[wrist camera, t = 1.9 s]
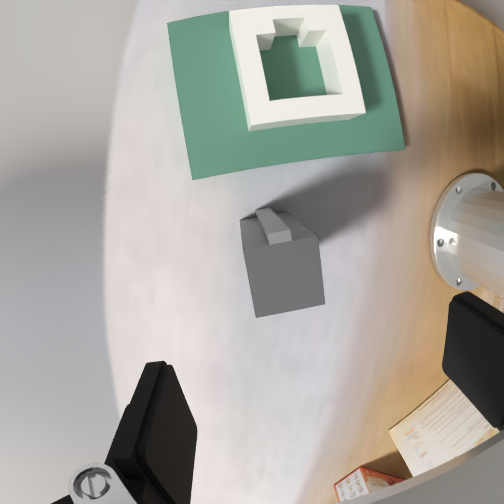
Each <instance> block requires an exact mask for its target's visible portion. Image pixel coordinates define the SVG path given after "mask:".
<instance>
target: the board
mask: <svg viewBox="0 0 504 504" xmlns="http://www.w3.org/2000/svg"><path fill="white" fill-rule="evenodd" d="M286 6H288V5H286ZM338 6H339V9H340V12H341V15H342V18H343V22H344V25H345V28H346V32H347V35H348V39H349V43H350V46H351V50H352V54H353V58H354V62H355V66H356V70H357V74H358V78H359V82H360V87H361V91H362V96H363V101H364V106H365V111H366V113H365V114H362V115H360V116H357V117H355V118H352V119H350V120H340V121H328V122H318V123H309V124H300V125H292V126H284V127H277V128H270V129H263V130H257V131H250V132H249V130H248V125H247V119H246V114H245V108H244V103H243V98H242V92H241V87H240V82H239V76H238V71H237V66H236V61H235V56H234V51H233V45H232V40H231V35H230V30H229V11H226V12H219V13H213V14H208V15H202V16H197V17H192V18H187V19H183V20H178V21H174V22H170V23H167V25H168V33H169V40H170V47H171V54H172V61H173V68H174V75H175V81H176V88H177V94H178V100H179V107H180V113H181V119H182V125H183V130H184V136H185V142H186V147H187V153H188V158H189V164H190V169H191V175H192V180H195V179H200V178H205V177H210V176H215V175H220V174H226V173H231V172H236V171H242V170H248V169H253V168H259V167H265V166H272V165H278V164H284V163H291V162H298V161H305V160H312V159H320V158H328V157H336V156H345V155H354V154H363V153H373V152H384V151H396V150H405V145H404V139H403V133H402V127H401V121H400V115H399V110H398V105H397V100H396V96H395V91H394V86H393V82H392V78H391V74H390V70H389V66H388V62H387V58H386V54H385V51H384V47H383V44H382V40H381V37H380V33H379V30H378V27H377V24H376V21H375V18H374V15H373V12H372V9H371V7H363V6H347V5H338ZM270 7H271V6H270ZM258 8H259V7H258ZM249 9H250V8H249ZM240 10H241V9H240ZM260 56H261V61H262V66H263V71H264V75H265V80H266V85H267V90H268V95H269V101H273V100H281V99H289V98H299V97H309V96H321V95H327V93H326V88H325V84H324V79H323V75H322V70H321V66H320V62H319V58H318V53H317V49H316V46H314V47H299V44H298V40H297V36H296V35H291V36H278V37H274V40H273V43H272V46H271V49H270V50H263V51H260Z"/></svg>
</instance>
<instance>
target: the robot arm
mask: <svg viewBox="0 0 504 504" xmlns="http://www.w3.org/2000/svg"><path fill="white" fill-rule="evenodd" d="M430 251H431V257H432V260H433V264H434V267H435V269H436V271H437V273H438V274H439V276H440V277H441V278H442V279H443V281H445V282H446V283H448V284H449V285H450V286H452V287H454V288H456V289H459V290H464V291H465V290H473V289H476V288H478V287H480V286H482V287H484V288H486V289H488V290H489V291H491V292H493V293H495V294H496V295H498V296H500V297H502V298H503V299H504V190H503V189H502V187H501V186H500V185H499V183H498V182H497V181H496V180H494V179H493V178H492V177H490V176H488V175H485V174H482V173H467V174H464V175H461V176H459V177H458V178H456V179H455V180H454V181H452V182H451V183H450V184H449V186H448V187H447V188H446V189H445V190H444V192H443V194H442V195H441V197H440V198H439V201H438V203H437V205H436V208H435V211H434V214H433V218H432V222H431V229H430ZM442 368H443V371H444V373H445V374H446V375H447V376H448V377H449V378H450V379H451V380H452V382H453V383H454V384H455V385H456V386H457V387H458V388H459V389H460V390H461V392H462V393H463V394H464V395H465V396H466V397H467V398H468V399H469V401H470V402H471V403H472V404H473V405H474V406H475V407H476V408H477V410H478V411H479V412H480V413H481V414H482V415H483V417H484V418H485V419H486V420H487V421H488V422H489V424H490V425H491V426H492V427H494V428H497V429H498V430H499V431H500V432H499V433H497V434H496V435H494V436H493V437H491V438H489V439H488V440H486V441H484V442H483V443H481V444H479V445H477V446H476V447H474V448H472V449H470V450H468V451H467V452H465V453H463V454H461V455H459V456H457V457H455V458H453V459H451V460H449V461H447V462H445V463H443V464H441V465H439V466H437V467H435V468H433V469H431V470H428V471H426V472H424V473H422V474H419V475H417V476H415V477H412V478H410V479H407V480H405V481H402V482H400V483H397V484H395V485H392V486H389V487H386V488H384V489H381V490H378V491H375V492H372V493H369V494H366V495H362V496H359V497H356V498H352V499H349V500H345V501H342V502H338V503H334V504H504V313H502V312H501V311H499V310H498V309H496V308H495V307H493V306H491V305H490V304H488V303H487V302H485V301H483V300H482V299H480V298H479V297H477V296H475V295H474V294H472V293H470V292H468V291H467V292H463V293H461V294H458V295H455V296H454V297H453V298H452V301H451V302H450V304H449V313H448V323H447V332H446V340H445V348H444V355H443V361H442ZM196 442H197V426H196V423H195V420H194V418H193V416H192V413H191V411H190V409H189V406H188V404H187V401H186V399H185V396H184V394H183V391H182V389H181V386H180V384H179V381H178V379H177V376H176V373H175V371H174V368H173V366H172V365H167V363H166V362H165V361H158V362H149V363H146V365H145V367H144V370H143V372H142V375H141V377H140V380H139V382H138V384H137V387H136V389H135V392H134V394H133V397H132V399H131V402H130V404H128V405H127V407H126V408H125V411H124V413H123V416H122V418H121V421H120V424H119V426H118V429H117V431H116V434H115V437H114V439H113V442H112V445H111V447H110V450H109V452H108V455H107V458H106V461H105V463H104V464H100V463H94V464H88V465H85V466H83V467H81V468H80V469H78V470H77V471H76V472H75V473H74V474H73V475H72V476H71V479H70V480H69V485H68V489H69V493H70V494H69V495H67V496H65V497H63V498H61V499H59V500H57V501H55V502H53V503H52V504H190V500H191V490H192V479H193V470H194V460H195V451H196Z"/></svg>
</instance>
